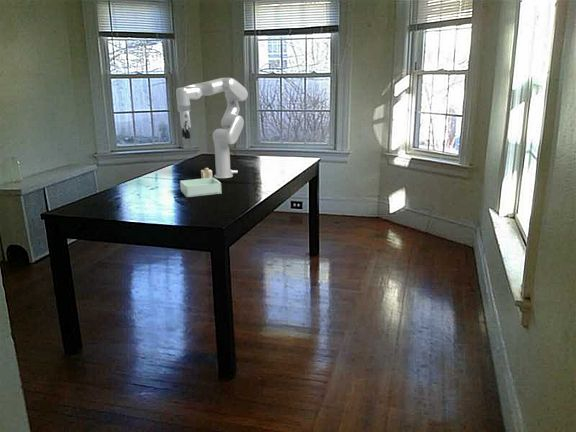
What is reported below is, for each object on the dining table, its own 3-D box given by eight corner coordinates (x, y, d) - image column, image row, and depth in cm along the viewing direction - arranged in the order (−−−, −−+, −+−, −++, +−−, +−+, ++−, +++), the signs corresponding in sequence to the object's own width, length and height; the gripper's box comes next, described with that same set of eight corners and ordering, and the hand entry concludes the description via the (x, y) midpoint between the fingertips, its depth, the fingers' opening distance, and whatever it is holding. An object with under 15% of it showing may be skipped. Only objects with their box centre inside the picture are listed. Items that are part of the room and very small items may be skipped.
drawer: (210, 180, 322) (209, 167, 319) (212, 182, 317) (211, 168, 314) (201, 181, 320) (200, 167, 318) (203, 183, 315) (202, 169, 312)
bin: (214, 187, 311) (213, 177, 310) (221, 193, 295) (221, 183, 294) (180, 190, 304) (179, 180, 303) (186, 197, 288) (185, 186, 287)
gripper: (192, 109, 303) (194, 138, 308) (188, 107, 319) (190, 135, 323) (179, 110, 301) (181, 139, 305) (175, 108, 316) (178, 136, 321)
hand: (186, 137), depth 314 cm, fingers open, 9 cm apart
